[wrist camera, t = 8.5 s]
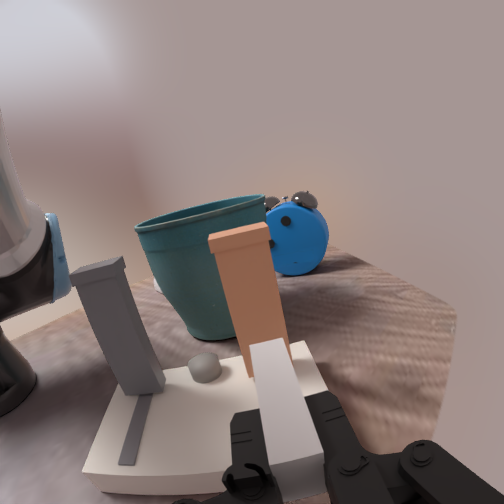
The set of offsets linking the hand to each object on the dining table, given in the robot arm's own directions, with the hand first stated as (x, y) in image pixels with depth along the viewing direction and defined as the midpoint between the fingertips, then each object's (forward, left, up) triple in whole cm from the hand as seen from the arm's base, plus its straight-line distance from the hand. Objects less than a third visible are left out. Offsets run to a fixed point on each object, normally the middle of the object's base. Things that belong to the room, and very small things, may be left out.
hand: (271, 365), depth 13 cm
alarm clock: (-37, +24, -12) cm, 46 cm away
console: (-9, -3, -12) cm, 15 cm away
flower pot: (-29, +6, -12) cm, 32 cm away
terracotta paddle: (-10, +4, -8) cm, 14 cm away
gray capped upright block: (-15, -8, -8) cm, 18 cm away
